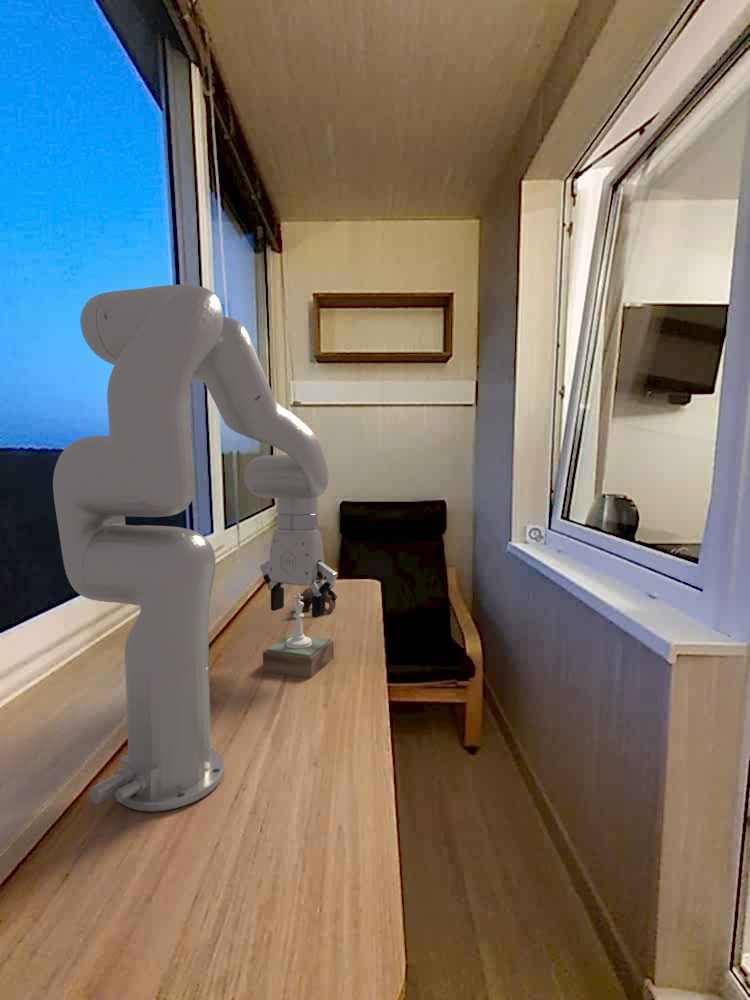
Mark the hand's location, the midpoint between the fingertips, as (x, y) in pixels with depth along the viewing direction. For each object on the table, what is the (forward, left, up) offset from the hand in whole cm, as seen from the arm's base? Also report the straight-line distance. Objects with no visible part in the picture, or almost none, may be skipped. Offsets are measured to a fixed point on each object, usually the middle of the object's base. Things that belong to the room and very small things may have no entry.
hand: (297, 612), depth 103 cm
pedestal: (+1, 0, -10) cm, 10 cm away
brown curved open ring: (+31, +18, -11) cm, 37 cm away
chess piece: (+1, 0, -7) cm, 7 cm away
